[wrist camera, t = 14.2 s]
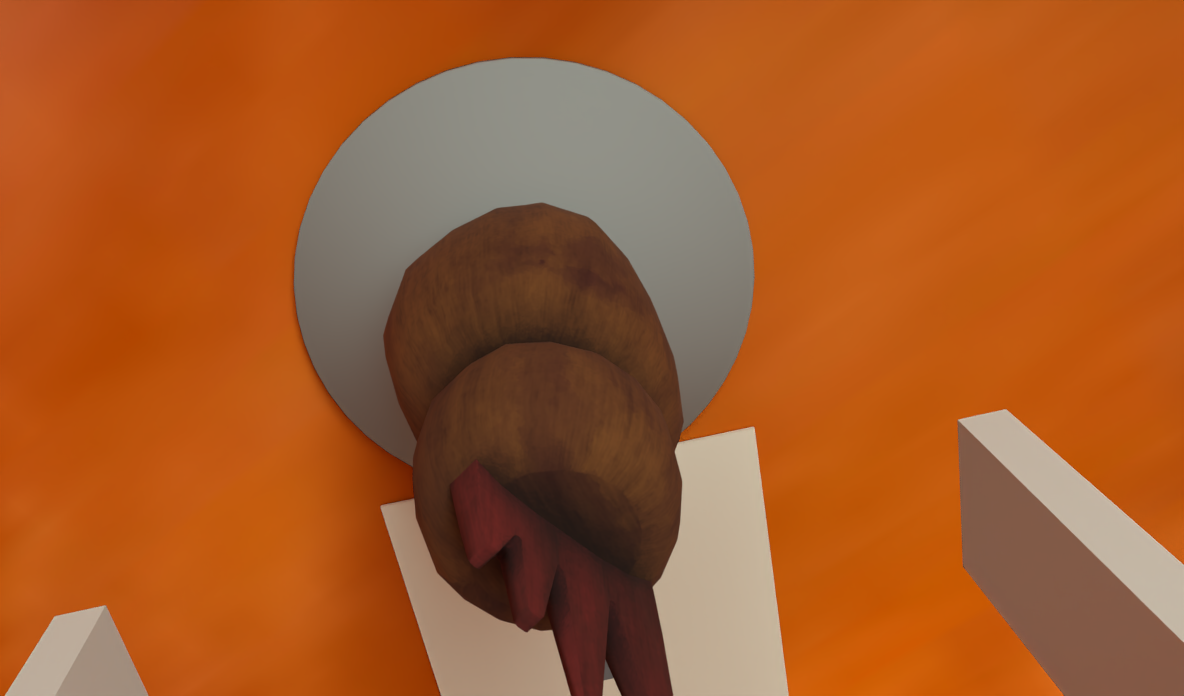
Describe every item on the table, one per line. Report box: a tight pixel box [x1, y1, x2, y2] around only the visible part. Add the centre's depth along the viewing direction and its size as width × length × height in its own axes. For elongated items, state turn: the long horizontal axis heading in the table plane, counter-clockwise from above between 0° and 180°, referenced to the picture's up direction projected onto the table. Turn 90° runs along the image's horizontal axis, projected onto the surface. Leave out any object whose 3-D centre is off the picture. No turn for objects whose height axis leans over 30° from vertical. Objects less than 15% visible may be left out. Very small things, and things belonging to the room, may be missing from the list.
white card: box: [380, 427, 789, 696], centre depth 30 cm, size 11×11×1 cm
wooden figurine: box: [383, 202, 684, 696], centre depth 19 cm, size 7×6×15 cm
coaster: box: [294, 57, 754, 467], centre depth 26 cm, size 12×12×1 cm
